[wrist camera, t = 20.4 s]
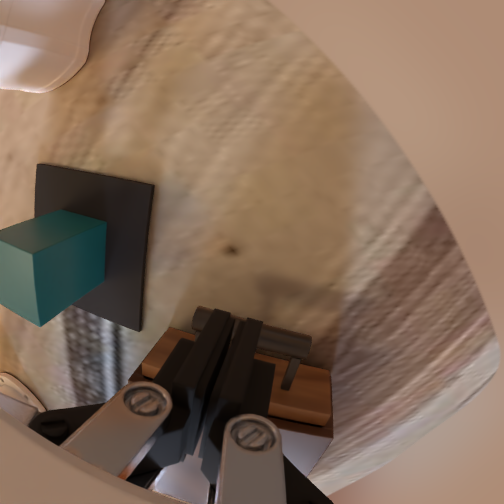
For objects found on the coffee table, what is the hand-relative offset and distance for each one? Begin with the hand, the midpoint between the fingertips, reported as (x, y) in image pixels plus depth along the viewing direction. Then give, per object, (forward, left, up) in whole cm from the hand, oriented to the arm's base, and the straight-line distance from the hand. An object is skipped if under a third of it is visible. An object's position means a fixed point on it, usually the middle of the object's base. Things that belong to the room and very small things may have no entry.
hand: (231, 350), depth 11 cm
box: (-15, -3, -11) cm, 18 cm away
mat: (-15, -3, -11) cm, 19 cm away
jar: (-22, +15, -11) cm, 29 cm away
